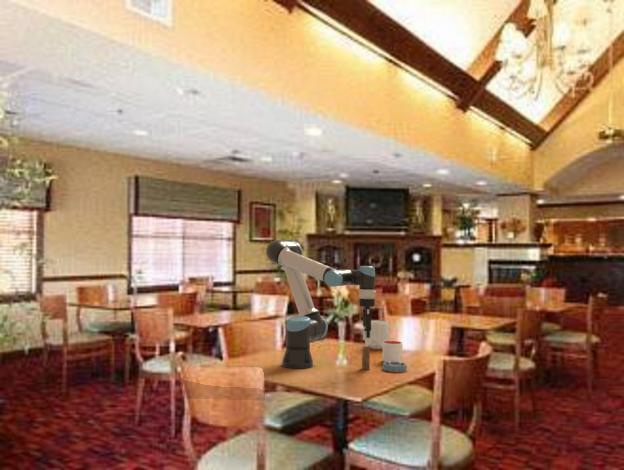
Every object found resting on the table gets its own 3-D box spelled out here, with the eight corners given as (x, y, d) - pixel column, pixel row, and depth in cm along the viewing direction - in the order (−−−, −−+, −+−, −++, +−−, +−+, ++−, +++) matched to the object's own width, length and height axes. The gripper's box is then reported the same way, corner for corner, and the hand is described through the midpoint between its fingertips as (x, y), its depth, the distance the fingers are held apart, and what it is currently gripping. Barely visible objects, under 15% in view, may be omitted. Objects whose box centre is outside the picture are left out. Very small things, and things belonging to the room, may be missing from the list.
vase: (394, 347, 344) (395, 321, 345) (384, 350, 332) (385, 324, 333) (373, 344, 352) (373, 319, 352) (362, 348, 340) (362, 321, 340)
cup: (401, 364, 295) (401, 344, 295) (381, 363, 297) (381, 343, 297) (402, 360, 305) (402, 341, 305) (383, 359, 307) (383, 340, 307)
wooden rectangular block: (362, 369, 281) (362, 346, 281) (361, 368, 284) (362, 345, 284) (369, 369, 281) (369, 346, 281) (368, 368, 283) (369, 345, 284)
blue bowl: (384, 371, 277) (384, 364, 277) (382, 367, 288) (382, 359, 288) (407, 372, 276) (408, 364, 276) (404, 367, 287) (404, 360, 287)
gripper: (377, 300, 270) (377, 346, 270) (372, 296, 295) (372, 338, 295) (361, 300, 270) (360, 346, 270) (357, 295, 295) (357, 338, 295)
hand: (366, 342), depth 282 cm, fingers open, 13 cm apart
